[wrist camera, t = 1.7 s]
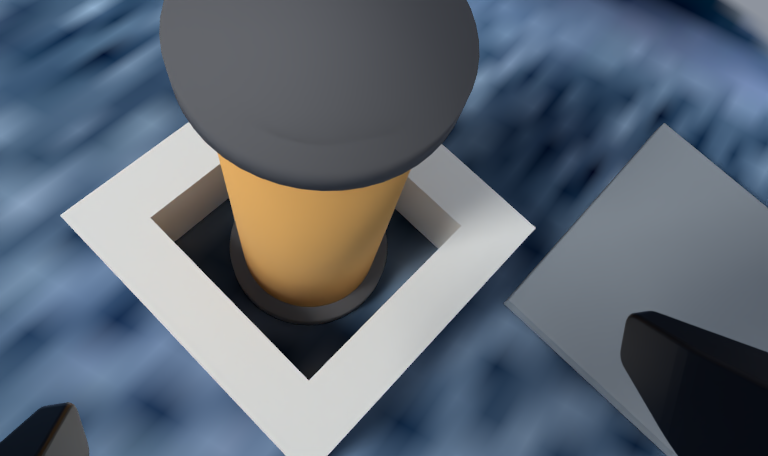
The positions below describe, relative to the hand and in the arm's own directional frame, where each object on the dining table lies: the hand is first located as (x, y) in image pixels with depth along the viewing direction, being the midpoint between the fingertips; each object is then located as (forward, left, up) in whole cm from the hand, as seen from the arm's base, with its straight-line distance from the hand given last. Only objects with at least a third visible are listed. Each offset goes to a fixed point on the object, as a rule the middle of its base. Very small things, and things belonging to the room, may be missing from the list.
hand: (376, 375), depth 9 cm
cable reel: (+5, -4, -12) cm, 14 cm away
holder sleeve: (+5, -4, -12) cm, 14 cm away
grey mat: (-8, -14, -12) cm, 20 cm away
